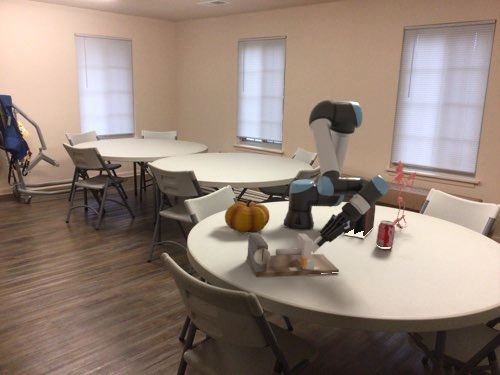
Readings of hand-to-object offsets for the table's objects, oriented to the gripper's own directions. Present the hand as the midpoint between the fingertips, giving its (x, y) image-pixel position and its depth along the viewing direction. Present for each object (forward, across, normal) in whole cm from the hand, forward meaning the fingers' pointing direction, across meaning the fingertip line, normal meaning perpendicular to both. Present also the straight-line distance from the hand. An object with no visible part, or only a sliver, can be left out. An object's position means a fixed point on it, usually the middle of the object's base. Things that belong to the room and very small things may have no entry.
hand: (310, 250), depth 165 cm
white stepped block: (+9, +2, -2) cm, 9 cm away
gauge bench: (+10, 0, 0) cm, 10 cm away
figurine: (-41, -48, +51) cm, 81 cm away
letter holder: (-24, -39, +34) cm, 57 cm away
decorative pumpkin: (+15, -45, -6) cm, 48 cm away
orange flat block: (+7, +6, 0) cm, 9 cm away
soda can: (-25, -17, +35) cm, 46 cm away
